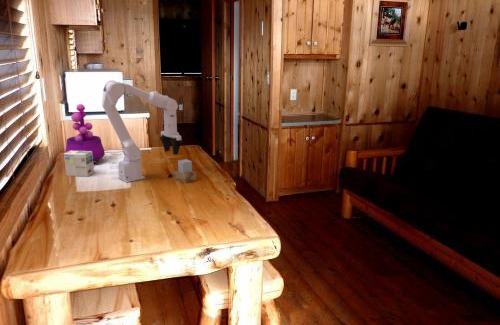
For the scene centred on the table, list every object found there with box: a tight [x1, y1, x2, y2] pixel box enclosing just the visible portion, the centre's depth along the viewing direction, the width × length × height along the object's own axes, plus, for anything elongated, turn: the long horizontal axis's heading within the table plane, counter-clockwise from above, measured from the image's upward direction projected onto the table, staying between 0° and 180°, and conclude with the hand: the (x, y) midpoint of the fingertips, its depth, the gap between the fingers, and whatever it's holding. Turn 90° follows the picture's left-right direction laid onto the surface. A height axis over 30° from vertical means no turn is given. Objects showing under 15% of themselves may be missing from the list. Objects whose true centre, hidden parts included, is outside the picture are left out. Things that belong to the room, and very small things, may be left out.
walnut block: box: [175, 170, 197, 184], centre depth 182 cm, size 6×6×4 cm
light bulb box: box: [63, 150, 95, 178], centre depth 186 cm, size 11×7×11 cm, turn 84°
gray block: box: [177, 158, 193, 174], centre depth 181 cm, size 4×4×5 cm
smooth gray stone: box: [171, 170, 178, 177], centre depth 190 cm, size 6×6×1 cm
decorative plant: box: [64, 103, 106, 163], centre depth 203 cm, size 19×18×30 cm
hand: (171, 152), depth 190 cm, fingers open, 7 cm apart
